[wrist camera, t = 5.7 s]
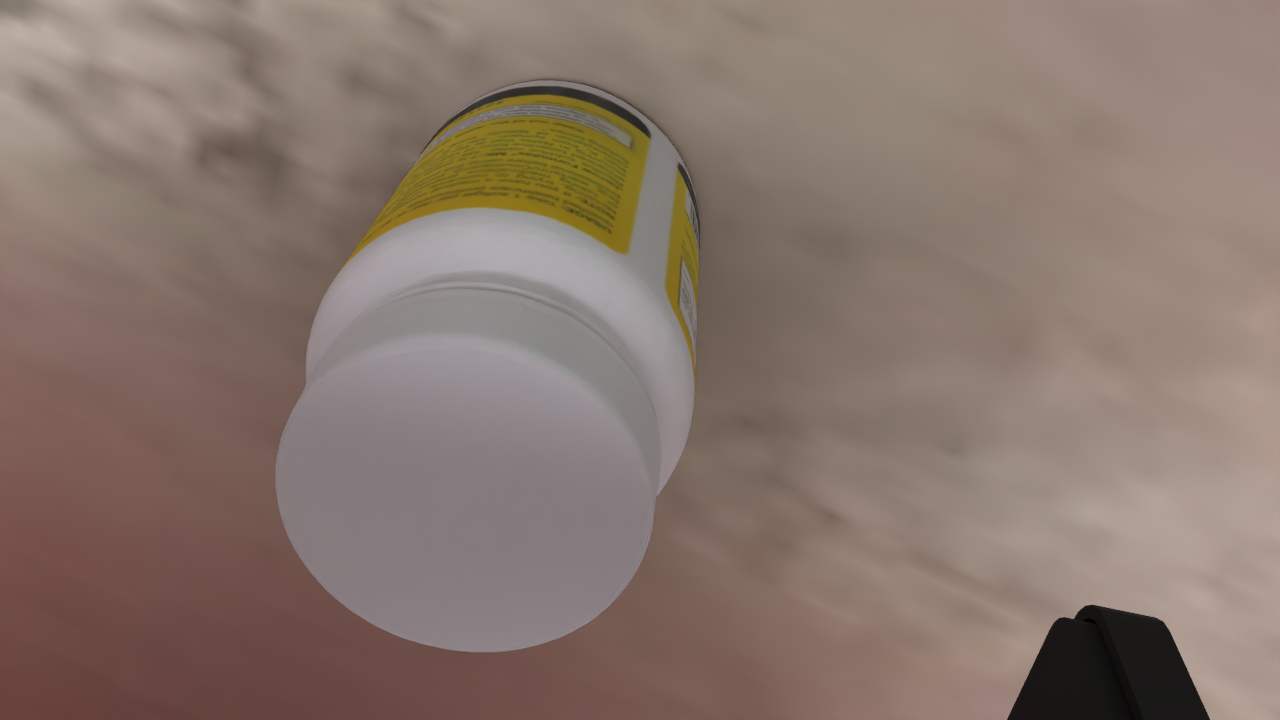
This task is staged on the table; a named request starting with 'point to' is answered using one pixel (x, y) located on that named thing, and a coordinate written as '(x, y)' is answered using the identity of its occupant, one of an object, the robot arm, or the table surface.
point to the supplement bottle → (501, 376)
